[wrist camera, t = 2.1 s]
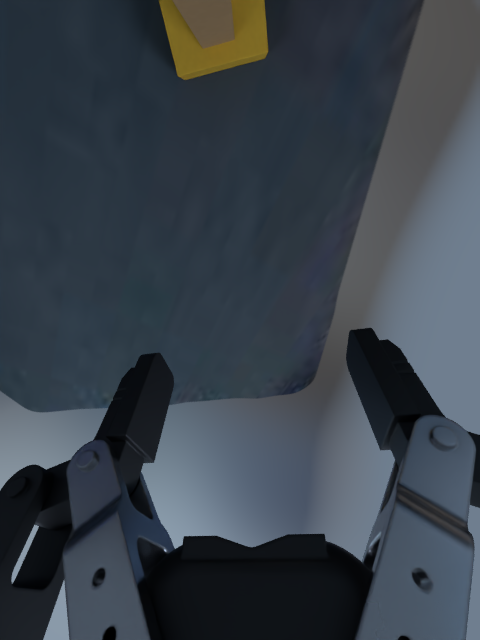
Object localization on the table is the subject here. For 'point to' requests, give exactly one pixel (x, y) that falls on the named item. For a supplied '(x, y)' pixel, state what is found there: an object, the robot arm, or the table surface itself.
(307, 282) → the table surface
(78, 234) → the table surface
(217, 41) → the peg stand
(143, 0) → the table surface
